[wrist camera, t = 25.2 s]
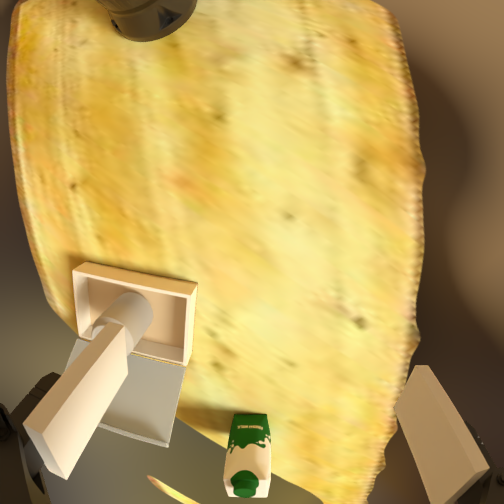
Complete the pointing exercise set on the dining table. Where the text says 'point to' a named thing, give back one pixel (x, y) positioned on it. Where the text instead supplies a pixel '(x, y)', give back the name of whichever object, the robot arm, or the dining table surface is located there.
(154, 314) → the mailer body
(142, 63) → the dining table surface
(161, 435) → the lid
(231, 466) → the milk carton
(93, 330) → the can
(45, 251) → the dining table surface
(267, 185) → the dining table surface
